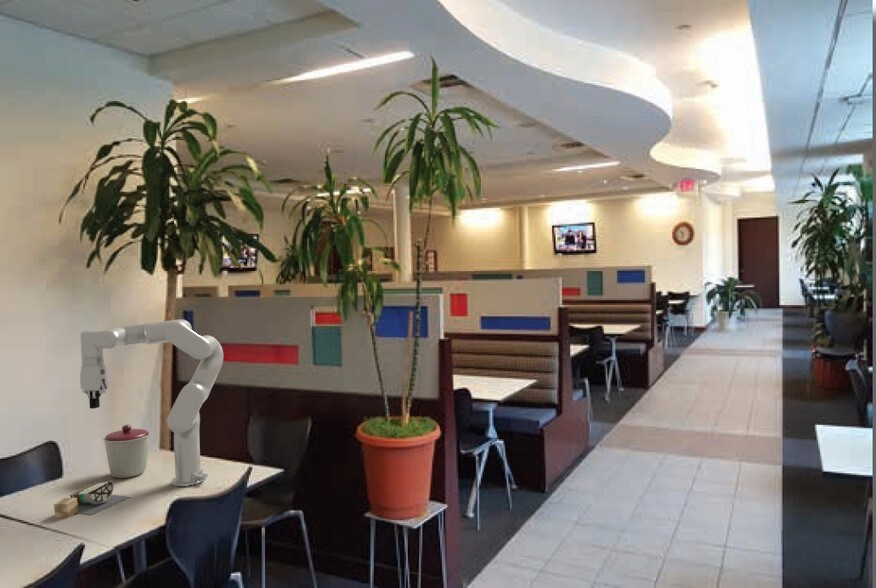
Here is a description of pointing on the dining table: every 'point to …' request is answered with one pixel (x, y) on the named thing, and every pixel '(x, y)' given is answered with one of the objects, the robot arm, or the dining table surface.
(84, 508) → the mat
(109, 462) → the canister
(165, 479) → the dining table surface
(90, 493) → the food container
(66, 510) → the oak block
